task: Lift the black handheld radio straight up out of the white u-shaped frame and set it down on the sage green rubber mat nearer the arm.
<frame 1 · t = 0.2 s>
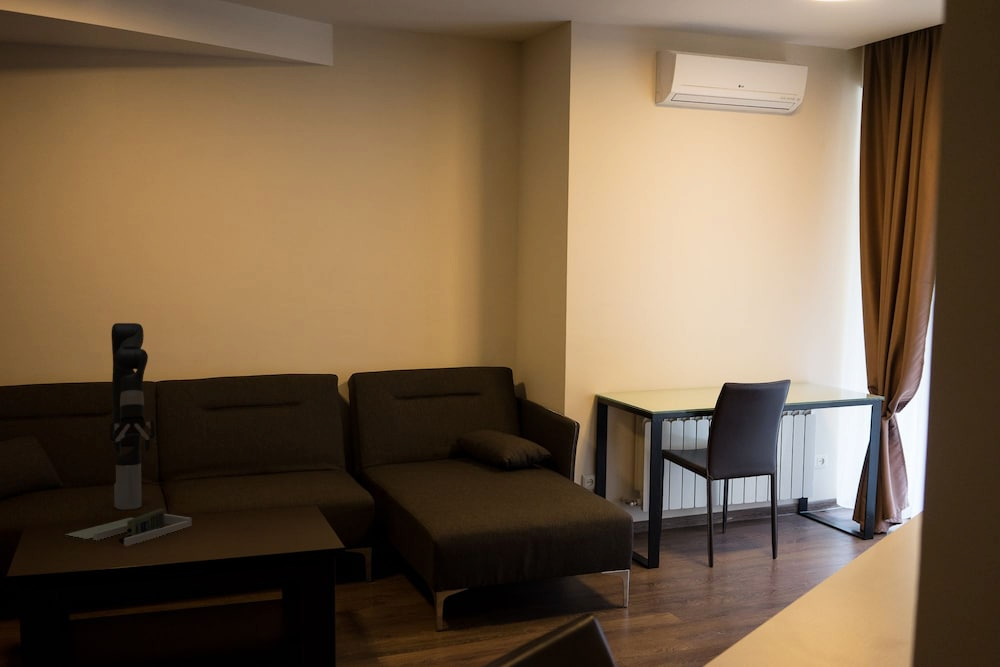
hand: (132, 452, 305), 30 cm above the table, tool tilted 20°, fingers open, 8 cm apart
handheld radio: (142, 535, 317), resting in white u-shaped frame
white u-shaped frame: (142, 534, 317), on the table
green mat: (109, 528, 324), on the table
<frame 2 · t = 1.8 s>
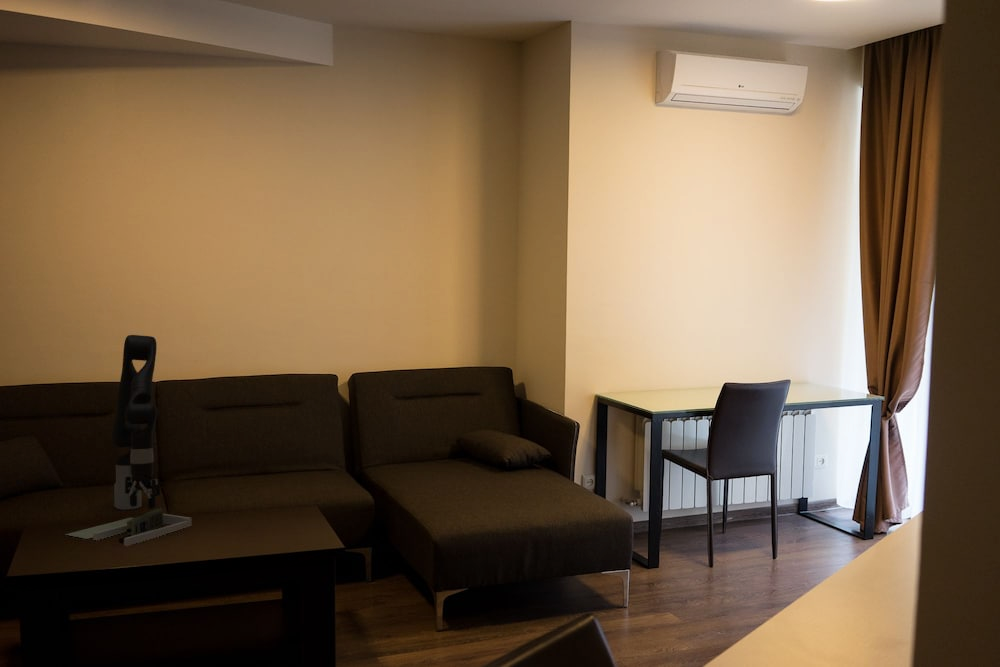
hand: (142, 507, 317), 9 cm above the table, tool pointing down, fingers open, 8 cm apart
nothing on the table moved.
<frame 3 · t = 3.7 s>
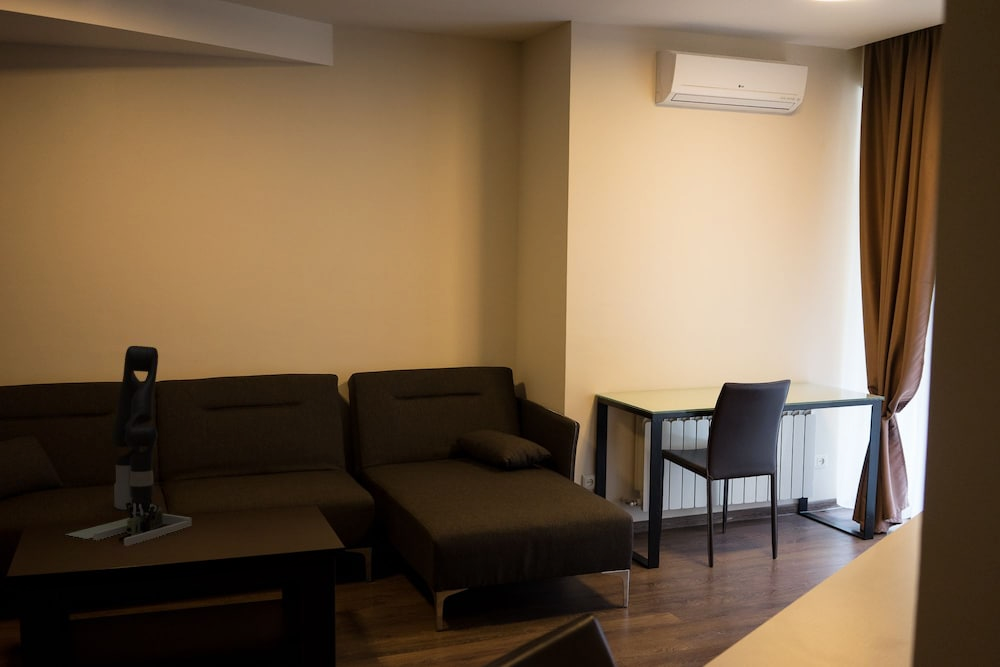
hand: (142, 532, 317), 1 cm above the table, tool pointing down, fingers closed on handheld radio, 3 cm apart
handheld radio: (140, 534, 317), resting in white u-shaped frame, touching gripper
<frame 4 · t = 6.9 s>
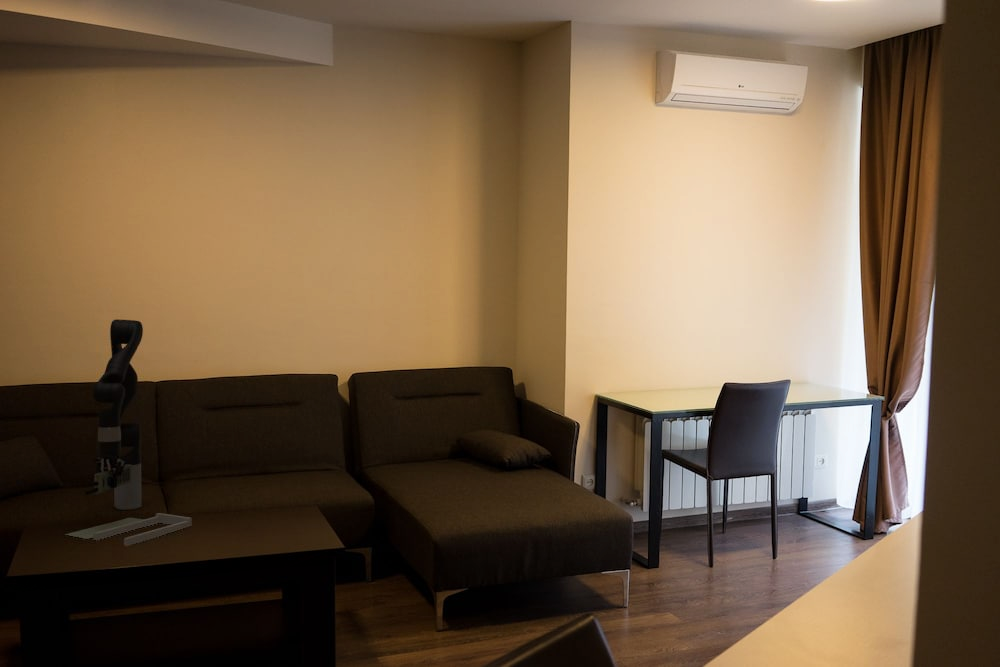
hand: (109, 487, 324), 15 cm above the table, tool pointing down, fingers closed on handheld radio, 3 cm apart
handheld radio: (108, 489, 324), point 14 cm above the table, touching gripper
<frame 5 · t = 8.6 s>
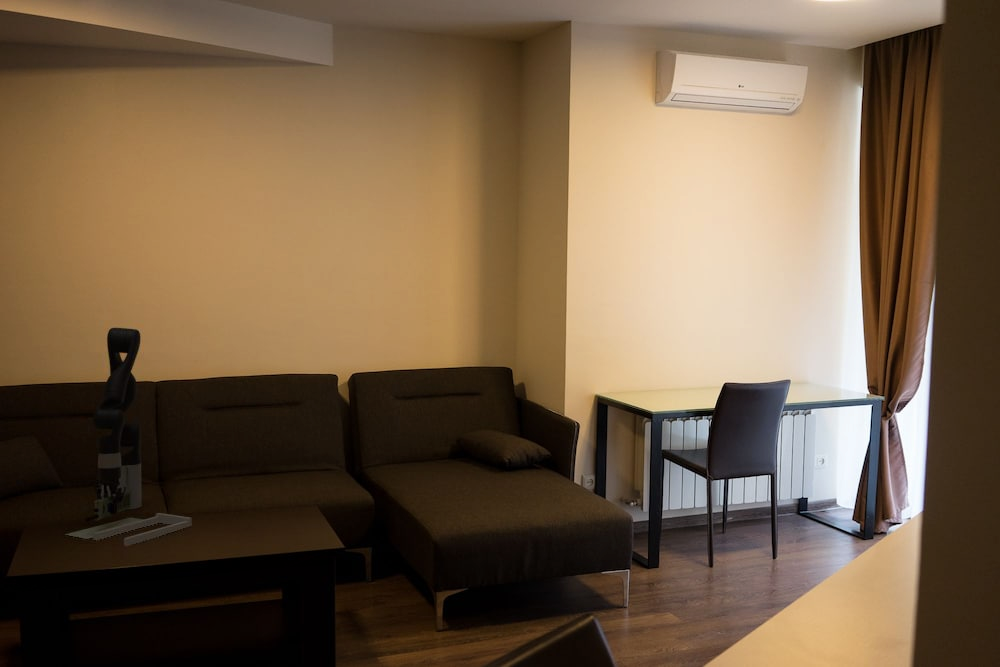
hand: (110, 513, 324), 6 cm above the table, tool pointing down, fingers closed on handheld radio, 3 cm apart
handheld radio: (108, 515, 324), point 5 cm above the table, touching gripper
when the fingers open (2 cm above the table, at t = 10.1 s): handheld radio stays where it is, resting on green mat.
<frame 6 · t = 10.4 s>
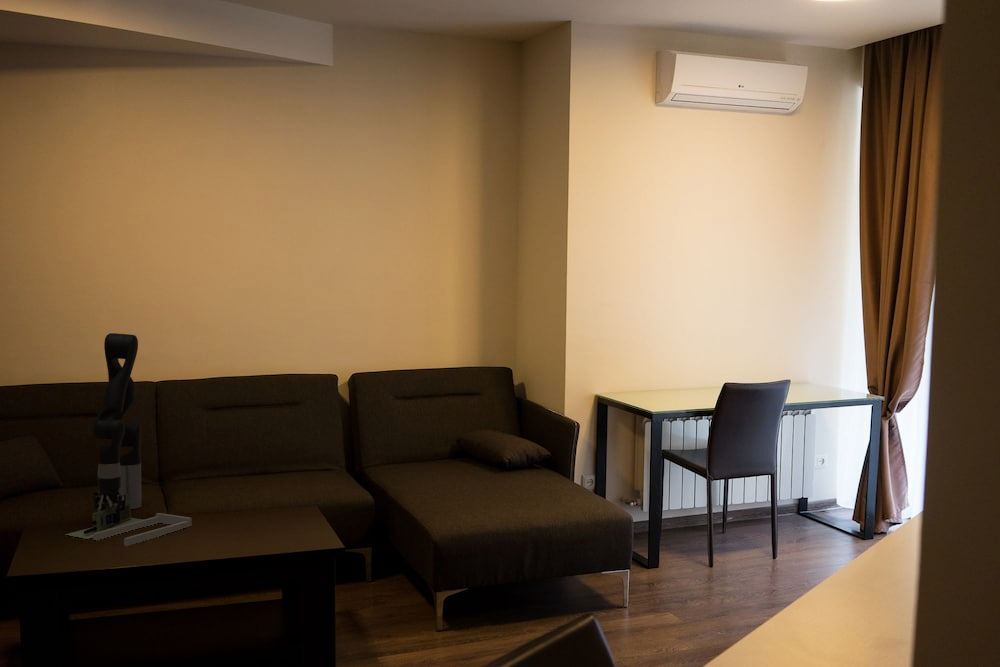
hand: (109, 522, 324), 2 cm above the table, tool pointing down, fingers open, 6 cm apart
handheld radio: (107, 527, 324), resting on green mat
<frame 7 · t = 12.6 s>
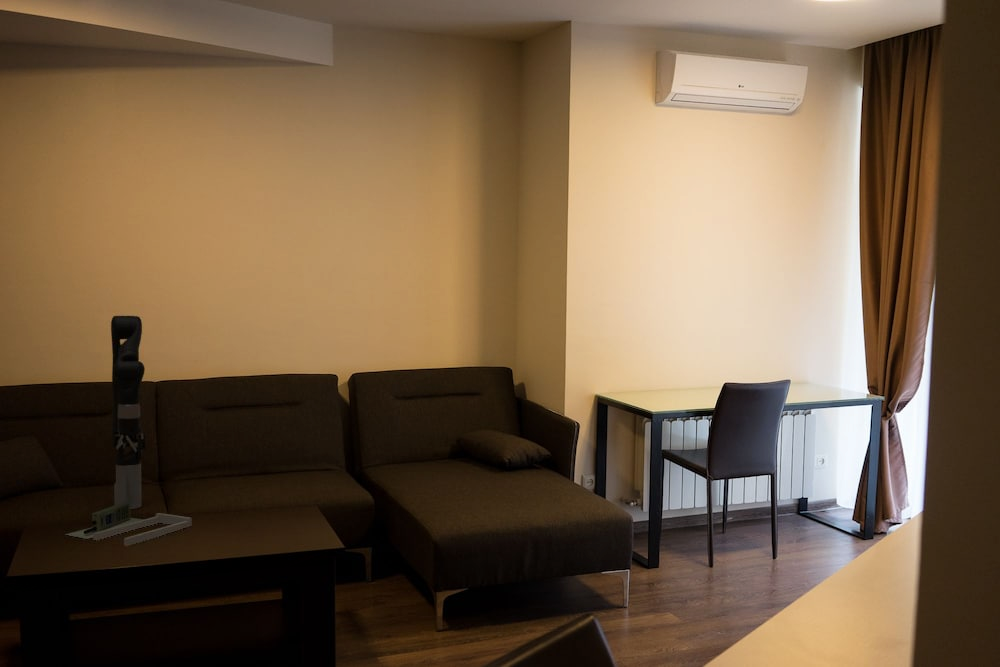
hand: (129, 460, 331), 23 cm above the table, tool pointing down, fingers open, 8 cm apart
nothing on the table moved.
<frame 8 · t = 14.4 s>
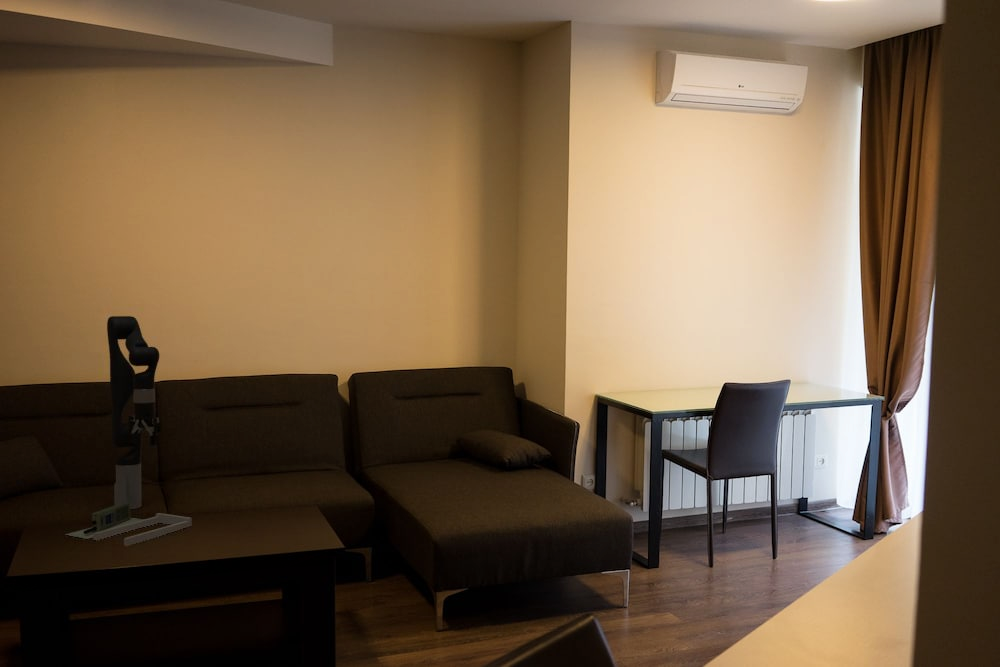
hand: (144, 444, 336), 28 cm above the table, tool pointing down, fingers open, 8 cm apart
nothing on the table moved.
at the end: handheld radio inside the target area on the green mat (1.0 cm from its centre), point 0.3 cm above the green mat's base; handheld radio touching green mat; the gripper is holding nothing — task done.
